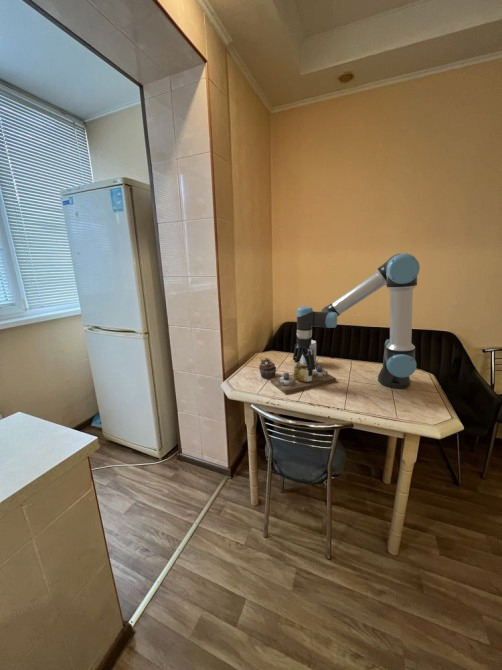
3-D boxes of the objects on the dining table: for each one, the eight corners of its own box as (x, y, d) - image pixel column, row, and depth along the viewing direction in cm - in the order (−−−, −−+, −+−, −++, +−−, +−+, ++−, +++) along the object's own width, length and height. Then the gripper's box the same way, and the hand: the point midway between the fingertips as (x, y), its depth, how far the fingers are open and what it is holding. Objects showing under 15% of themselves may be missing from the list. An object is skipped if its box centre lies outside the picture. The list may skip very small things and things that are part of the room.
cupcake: (270, 381, 152) (270, 363, 150) (256, 376, 158) (255, 360, 155) (279, 374, 160) (279, 358, 157) (265, 371, 165) (265, 355, 163)
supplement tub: (319, 364, 172) (320, 341, 168) (308, 368, 167) (308, 345, 163) (307, 360, 180) (308, 338, 176) (296, 363, 175) (297, 341, 171)
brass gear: (316, 379, 146) (317, 368, 145) (300, 383, 143) (300, 372, 141) (305, 372, 155) (306, 362, 154) (290, 375, 152) (290, 365, 150)
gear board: (335, 381, 149) (336, 369, 147) (285, 394, 137) (285, 381, 135) (318, 371, 162) (318, 360, 160) (271, 382, 150) (270, 370, 148)
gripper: (286, 332, 151) (286, 371, 157) (311, 344, 131) (309, 387, 138) (298, 331, 154) (297, 368, 160) (324, 341, 134) (322, 384, 140)
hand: (303, 377), depth 149 cm, fingers closed on brass gear, 10 cm apart
